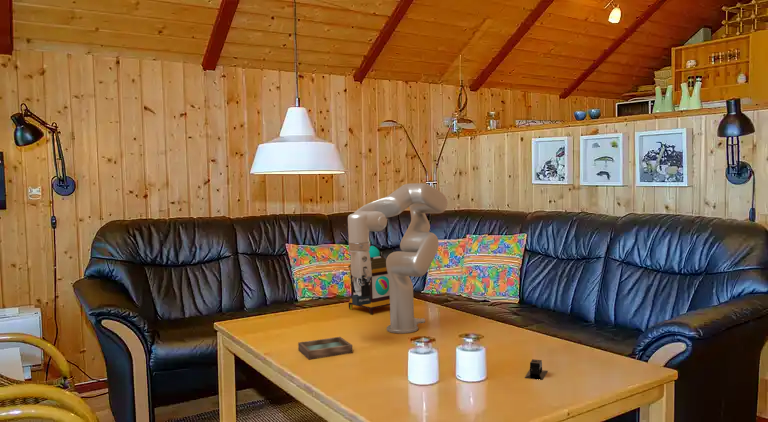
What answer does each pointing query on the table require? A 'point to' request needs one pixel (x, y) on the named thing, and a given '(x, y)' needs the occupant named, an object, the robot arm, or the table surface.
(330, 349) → the watch tray
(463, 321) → the table surface
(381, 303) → the decorative lantern
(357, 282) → the watch
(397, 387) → the table surface
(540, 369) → the black block
